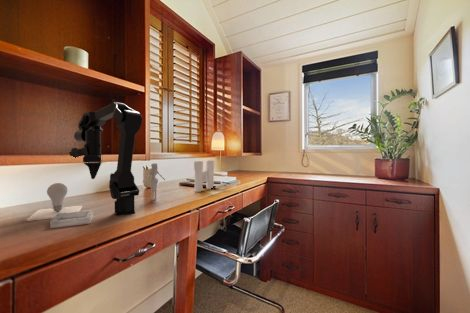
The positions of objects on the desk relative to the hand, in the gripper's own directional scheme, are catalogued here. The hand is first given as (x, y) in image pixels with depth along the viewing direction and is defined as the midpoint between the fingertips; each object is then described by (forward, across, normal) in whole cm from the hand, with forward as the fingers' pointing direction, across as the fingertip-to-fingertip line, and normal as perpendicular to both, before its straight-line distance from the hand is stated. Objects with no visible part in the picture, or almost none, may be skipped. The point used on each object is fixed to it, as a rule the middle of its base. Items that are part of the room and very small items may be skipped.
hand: (93, 177), depth 97 cm
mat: (+12, +8, -11) cm, 19 cm away
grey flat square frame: (+12, +22, -5) cm, 26 cm away
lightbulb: (+12, +8, -11) cm, 18 cm away
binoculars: (+12, -14, +57) cm, 60 cm away
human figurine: (+12, +2, +25) cm, 28 cm away
